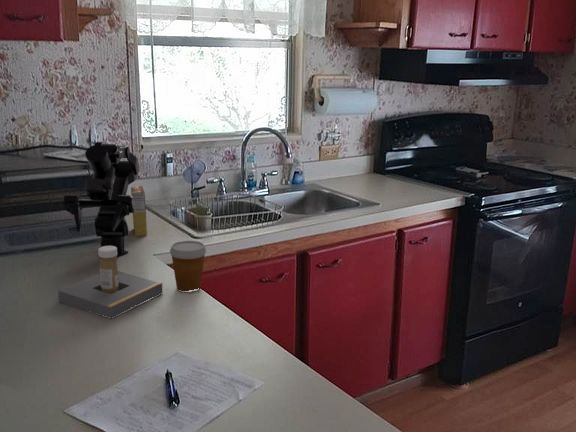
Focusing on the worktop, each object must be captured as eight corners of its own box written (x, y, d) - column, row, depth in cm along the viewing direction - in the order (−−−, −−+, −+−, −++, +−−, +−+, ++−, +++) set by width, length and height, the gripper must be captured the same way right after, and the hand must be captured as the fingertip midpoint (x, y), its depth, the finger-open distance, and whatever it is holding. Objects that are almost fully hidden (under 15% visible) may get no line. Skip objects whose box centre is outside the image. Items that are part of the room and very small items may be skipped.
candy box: (132, 228, 212) (130, 186, 208) (145, 228, 213) (143, 185, 209) (134, 236, 204) (132, 192, 200) (147, 235, 205) (145, 191, 201)
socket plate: (112, 279, 167) (111, 268, 166) (162, 294, 158) (162, 282, 157) (59, 301, 152) (58, 289, 151) (111, 319, 143) (110, 306, 142)
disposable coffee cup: (172, 296, 157) (171, 252, 154) (169, 282, 166) (168, 241, 163) (208, 293, 160) (208, 250, 156) (204, 280, 168) (203, 239, 165)
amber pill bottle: (123, 297, 156) (120, 247, 152) (109, 302, 152) (106, 252, 149) (111, 292, 158) (108, 243, 155) (97, 298, 155) (94, 248, 151)
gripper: (61, 165, 164) (52, 215, 157) (131, 166, 165) (125, 216, 158) (71, 187, 174) (63, 235, 166) (137, 188, 175) (132, 236, 168)
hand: (95, 230), depth 164 cm, fingers open, 9 cm apart
